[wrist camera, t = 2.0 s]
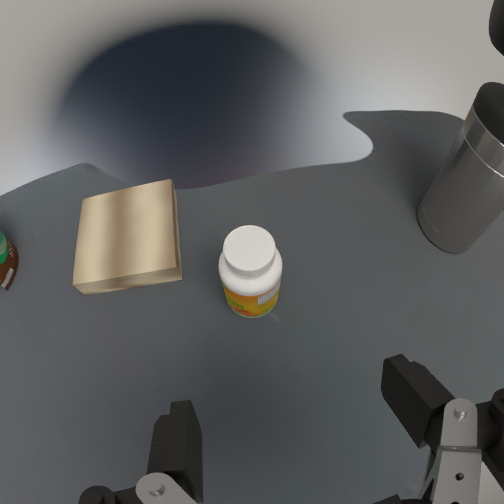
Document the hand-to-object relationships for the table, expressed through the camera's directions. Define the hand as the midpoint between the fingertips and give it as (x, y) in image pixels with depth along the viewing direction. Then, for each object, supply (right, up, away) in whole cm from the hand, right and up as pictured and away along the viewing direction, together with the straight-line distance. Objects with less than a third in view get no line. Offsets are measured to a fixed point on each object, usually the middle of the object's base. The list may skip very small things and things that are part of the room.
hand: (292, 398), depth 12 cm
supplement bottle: (-2, +1, +21) cm, 21 cm away
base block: (-16, +7, +24) cm, 30 cm away
